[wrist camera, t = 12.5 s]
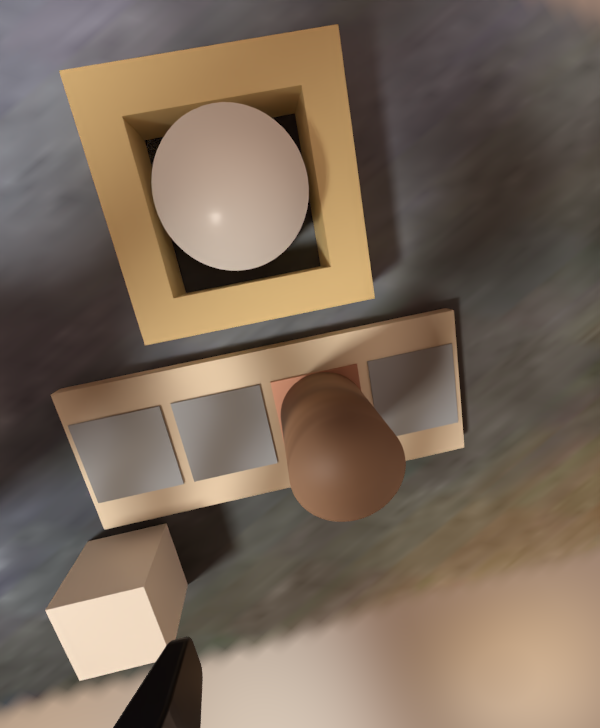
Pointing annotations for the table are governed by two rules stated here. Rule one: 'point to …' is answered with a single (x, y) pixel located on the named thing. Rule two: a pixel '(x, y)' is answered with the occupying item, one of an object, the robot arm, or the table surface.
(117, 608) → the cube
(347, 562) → the table surface
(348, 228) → the box
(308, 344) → the makeup compact
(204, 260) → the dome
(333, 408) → the brown capsule
